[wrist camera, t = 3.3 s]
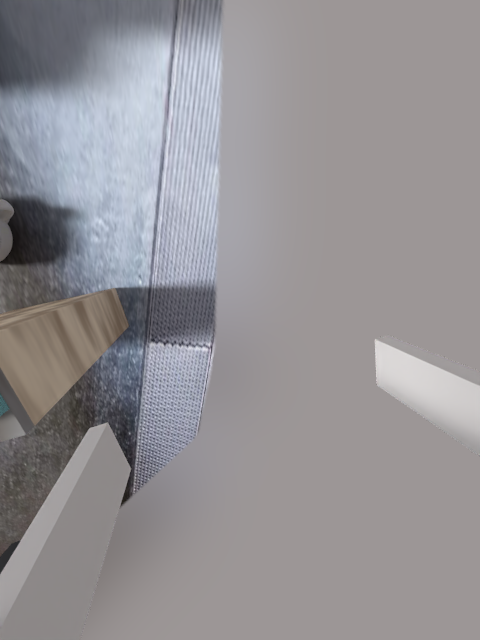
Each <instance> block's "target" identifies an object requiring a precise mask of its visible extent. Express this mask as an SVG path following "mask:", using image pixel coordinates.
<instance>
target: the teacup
mask: <svg viewBox="0 0 480 640" xmlns="http://www.w3.org/2000/svg"><path fill="white" fill-rule="evenodd" d="M13 214H14V209H13V207H12V206H11V205H10V204H9V203H8V202H7V201H6V200H3V199H0V261H2V260H3V259H5V258H6V257H7V255H8V254H9V253H10V251H11V248H12V244H13V237H12V232H11V230H10V227H9V225H8V222H9V219H10V218H11V217H12V216H13Z"/></svg>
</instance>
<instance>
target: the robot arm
mask: <svg viewBox="0 0 480 640" xmlns="http://www.w3.org/2000/svg"><path fill="white" fill-rule="evenodd" d="M375 354H376V355H375V356H376V376H377V377H376V379H377V385H378V386H379V387H380V388H382V389H383V390H385V391H386V392H388V393H389V394H391V395H392V396H393V397H395V398H396V399H398V400H399V401H401V402H402V403H403V404H405V405H406V406H408V407H409V408H411V409H412V410H414V411H415V412H416V413H418V414H419V415H421V416H422V417H424V418H425V419H427V420H428V421H430V422H431V423H432V424H434V425H435V426H437V427H438V428H440V429H441V430H442V431H444V432H446V433H447V434H448V435H450V436H451V437H453V438H454V439H456V440H457V441H458V442H460V443H461V444H463V445H464V446H466V447H467V448H468V449H470V450H471V451H473V452H474V453H476V454H477V455H478V456H480V371H478V370H475V369H473V368H470V367H468V366H465V365H462V364H460V363H457V362H455V361H452V360H450V359H447V358H445V357H442V356H440V355H437V354H435V353H432V352H429V351H427V350H425V349H422V348H420V347H417V346H415V345H412V344H410V343H407V342H404V341H402V340H399V339H397V338H394V337H392V336H389V335H386V336H383V337H380V338H377V339H375ZM130 471H131V468H130V466H129V464H128V462H127V460H126V458H125V456H124V454H123V452H122V450H121V448H120V446H119V444H118V442H117V440H116V438H115V436H114V434H113V432H112V430H111V428H110V426H109V424H108V423H105V424H102V425H99V426H95V427H92V428H89V430H88V432H87V433H86V435H85V437H84V438H83V440H82V441H81V443H80V445H79V446H78V448H77V450H76V451H75V453H74V455H73V456H72V458H71V459H70V461H69V463H68V464H67V466H66V468H65V469H64V471H63V472H62V474H61V476H60V477H59V479H58V481H57V482H56V484H55V486H54V487H53V489H52V490H51V492H50V494H49V495H48V497H47V499H46V500H45V502H44V504H43V505H42V507H41V508H40V510H39V512H38V513H37V515H36V517H35V518H34V520H33V522H32V523H31V525H30V526H29V528H28V530H27V531H26V533H25V535H24V536H23V538H22V540H21V541H18V542H15V543H12V544H11V545H10V546H9V547H8V549H7V550H6V551H5V552H4V553H3V554H2V555H1V556H0V640H80V639H81V636H82V632H83V629H84V625H85V622H86V619H87V616H88V612H89V609H90V605H91V602H92V599H93V595H94V592H95V588H96V585H97V581H98V578H99V575H100V572H101V568H102V565H103V562H104V558H105V555H106V551H107V548H108V545H109V541H110V538H111V534H112V531H113V528H114V525H115V521H116V518H117V514H118V511H119V508H120V504H121V501H122V498H123V494H124V491H125V488H126V484H127V481H128V477H129V474H130Z"/></svg>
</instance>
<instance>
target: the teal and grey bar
mask: <svg viewBox="0 0 480 640" xmlns="http://www.w3.org/2000/svg"><path fill="white" fill-rule="evenodd" d="M9 409H10V408H9V407H8V405H7V403H6V402H5V400H4V398H3V397H2V395H1V393H0V416H1V415H2V414H4V413H5V412H6V411H7V410H9Z"/></svg>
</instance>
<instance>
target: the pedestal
mask: <svg viewBox="0 0 480 640" xmlns="http://www.w3.org/2000/svg"><path fill="white" fill-rule="evenodd" d="M128 327H129V324H128V321H127V318H126V316H125V313H124V310H123V308H122V305H121V302H120V299H119V297H118V294H117V291H116V289H115V288H113V289H108V290H104V291H99V292H94V293H90V294H85V295H81V296H76V297H72V298H67V299H62V300H58V301H53V302H49V303H44V304H40V305H35V306H30V307H26V308H21V309H17V310H13V311H9V312H6V313H2V314H0V393H1V395H2V397H3V398H4V400H5V402H6V403H7V405H8V407H9V408H10V409H9V410H7V411H6V412H5V413H4V414H2V415H1V416H0V442H2V441H6V440H9V439H13V438H16V437H20V436H23V435H26V434H27V433H28V432H29V431H30V430H31V429H32V428H33V427H34V426H35V425H36V424H37V423H38V422H39V421H40V420H41V418H42V417H43V416H44V415H45V414H46V413H47V412H48V411H49V410H50V409H51V408H52V407H53V406H54V405H55V404H56V403H57V402H58V401H59V400H60V398H61V397H62V396H63V395H64V394H65V393H66V392H67V391H68V390H69V389H70V388H71V387H72V386H73V385H74V384H75V383H76V382H77V381H78V380H79V378H80V377H81V376H82V375H83V374H84V373H85V372H86V371H87V370H88V369H89V368H90V367H91V366H92V365H93V364H94V363H95V362H96V361H97V360H98V359H99V357H100V356H101V355H102V354H103V353H104V352H105V351H106V350H107V349H108V348H109V347H110V346H111V345H112V344H113V343H114V342H115V341H116V340H117V339H118V337H119V336H120V335H121V334H122V333H123V332H124V331H125V330H126V329H127V328H128Z"/></svg>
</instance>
